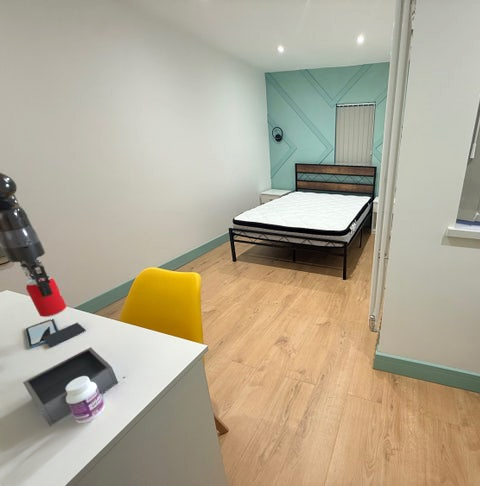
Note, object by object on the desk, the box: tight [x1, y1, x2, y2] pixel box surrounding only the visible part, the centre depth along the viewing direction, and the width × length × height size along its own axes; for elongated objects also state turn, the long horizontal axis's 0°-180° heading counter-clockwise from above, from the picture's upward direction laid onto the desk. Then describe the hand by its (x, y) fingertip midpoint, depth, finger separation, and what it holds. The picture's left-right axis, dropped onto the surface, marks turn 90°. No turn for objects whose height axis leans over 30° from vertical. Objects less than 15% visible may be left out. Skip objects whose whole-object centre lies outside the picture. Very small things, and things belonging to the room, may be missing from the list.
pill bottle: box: [66, 376, 106, 424], centre depth 61 cm, size 5×5×10 cm
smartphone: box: [24, 318, 60, 349], centre depth 89 cm, size 7×1×15 cm
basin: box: [22, 347, 119, 427], centre depth 67 cm, size 14×14×6 cm
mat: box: [43, 322, 87, 348], centre depth 87 cm, size 9×7×1 cm
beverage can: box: [25, 275, 67, 318], centre depth 82 cm, size 6×6×12 cm
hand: (44, 292), depth 81 cm, fingers closed on beverage can, 6 cm apart
